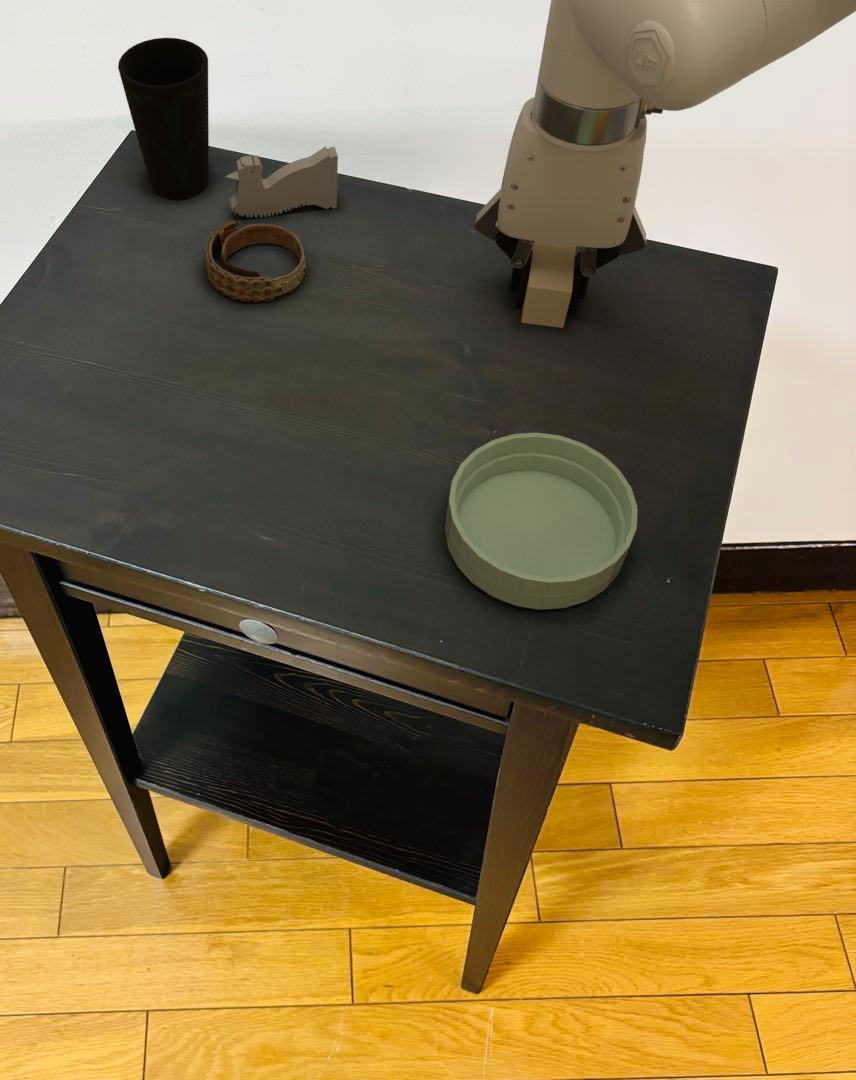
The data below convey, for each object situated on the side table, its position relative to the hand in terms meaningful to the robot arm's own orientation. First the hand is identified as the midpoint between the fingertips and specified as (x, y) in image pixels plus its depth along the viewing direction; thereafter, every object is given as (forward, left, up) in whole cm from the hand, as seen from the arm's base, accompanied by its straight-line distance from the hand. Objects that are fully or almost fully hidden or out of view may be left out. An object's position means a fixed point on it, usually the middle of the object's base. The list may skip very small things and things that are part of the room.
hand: (545, 296), depth 90 cm
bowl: (-1, +25, 0) cm, 25 cm away
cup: (+35, -10, 0) cm, 36 cm away
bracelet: (+25, +1, 0) cm, 25 cm away
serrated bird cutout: (+24, -7, 0) cm, 26 cm away
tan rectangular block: (0, 0, 0) cm, 0 cm away
